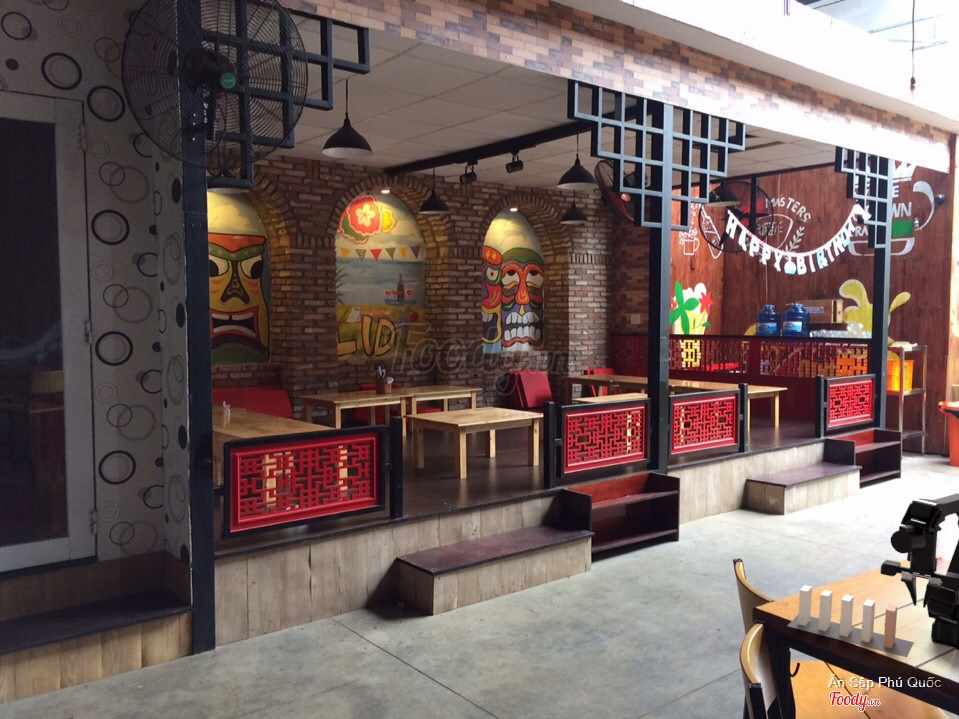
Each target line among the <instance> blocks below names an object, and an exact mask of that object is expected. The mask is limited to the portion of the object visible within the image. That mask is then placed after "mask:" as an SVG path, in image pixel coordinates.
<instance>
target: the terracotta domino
mask: <svg viewBox="0 0 959 719" xmlns="http://www.w3.org/2000/svg"><path fill="white" fill-rule="evenodd" d="M897 617H898V605H893V604H890V603H889V604H888V606H887V607H886V608H885V619H884V633H883V635H884V646H885V647H889V648H892V647H893V645H894V643H895V638H896V633H897Z"/></svg>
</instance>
